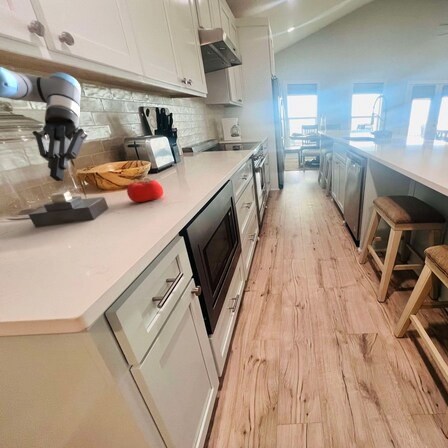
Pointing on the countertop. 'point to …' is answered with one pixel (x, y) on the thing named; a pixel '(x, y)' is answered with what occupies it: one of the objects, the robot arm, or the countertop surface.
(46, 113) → the robot arm
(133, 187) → the tomato
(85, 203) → the dark grey stepped block
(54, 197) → the grey brown cube
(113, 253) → the countertop surface
